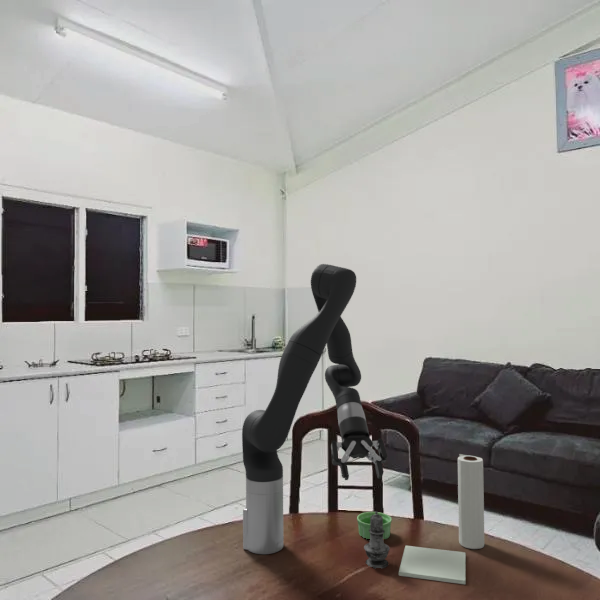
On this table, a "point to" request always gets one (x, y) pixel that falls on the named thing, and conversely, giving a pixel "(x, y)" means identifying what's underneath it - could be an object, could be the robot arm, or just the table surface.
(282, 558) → the table surface
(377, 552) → the salt shaker
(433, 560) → the sage tile
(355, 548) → the table surface
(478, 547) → the paper towel roll
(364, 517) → the ramekin
